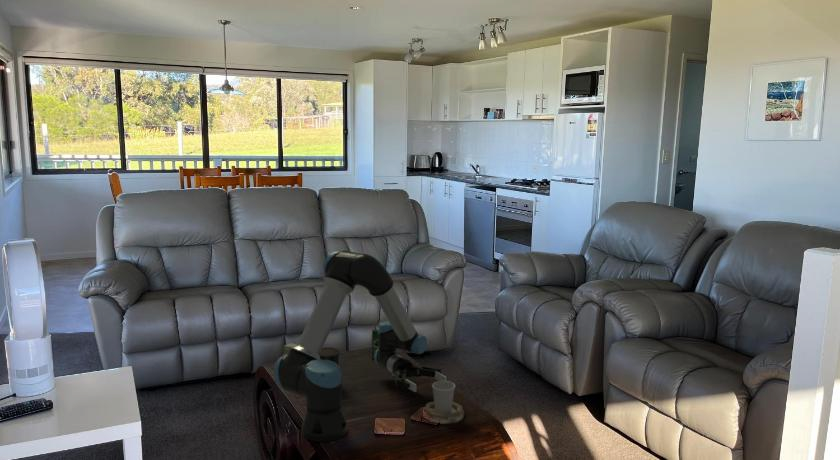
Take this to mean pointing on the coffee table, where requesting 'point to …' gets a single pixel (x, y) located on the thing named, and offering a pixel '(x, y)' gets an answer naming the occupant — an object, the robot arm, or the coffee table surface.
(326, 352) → the coffee can
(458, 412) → the rimmed coaster
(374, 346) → the coffee box
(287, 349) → the skincare box
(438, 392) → the dixie cup
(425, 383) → the coffee table surface
